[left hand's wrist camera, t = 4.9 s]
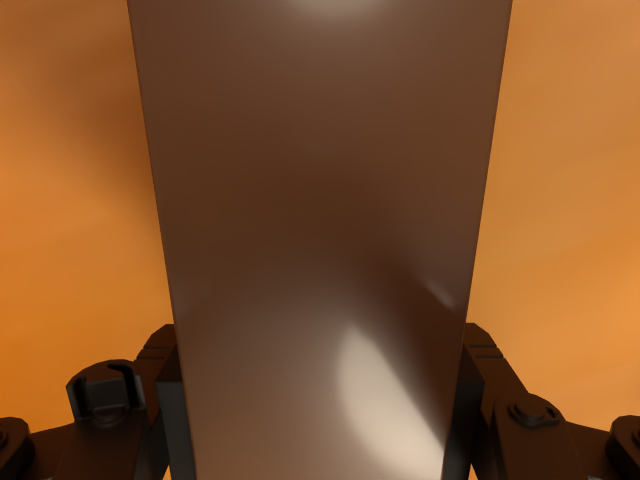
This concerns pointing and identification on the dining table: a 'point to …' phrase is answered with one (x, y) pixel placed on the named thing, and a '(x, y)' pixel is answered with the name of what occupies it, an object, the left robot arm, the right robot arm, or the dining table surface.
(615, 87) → the dining table surface
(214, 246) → the beam
